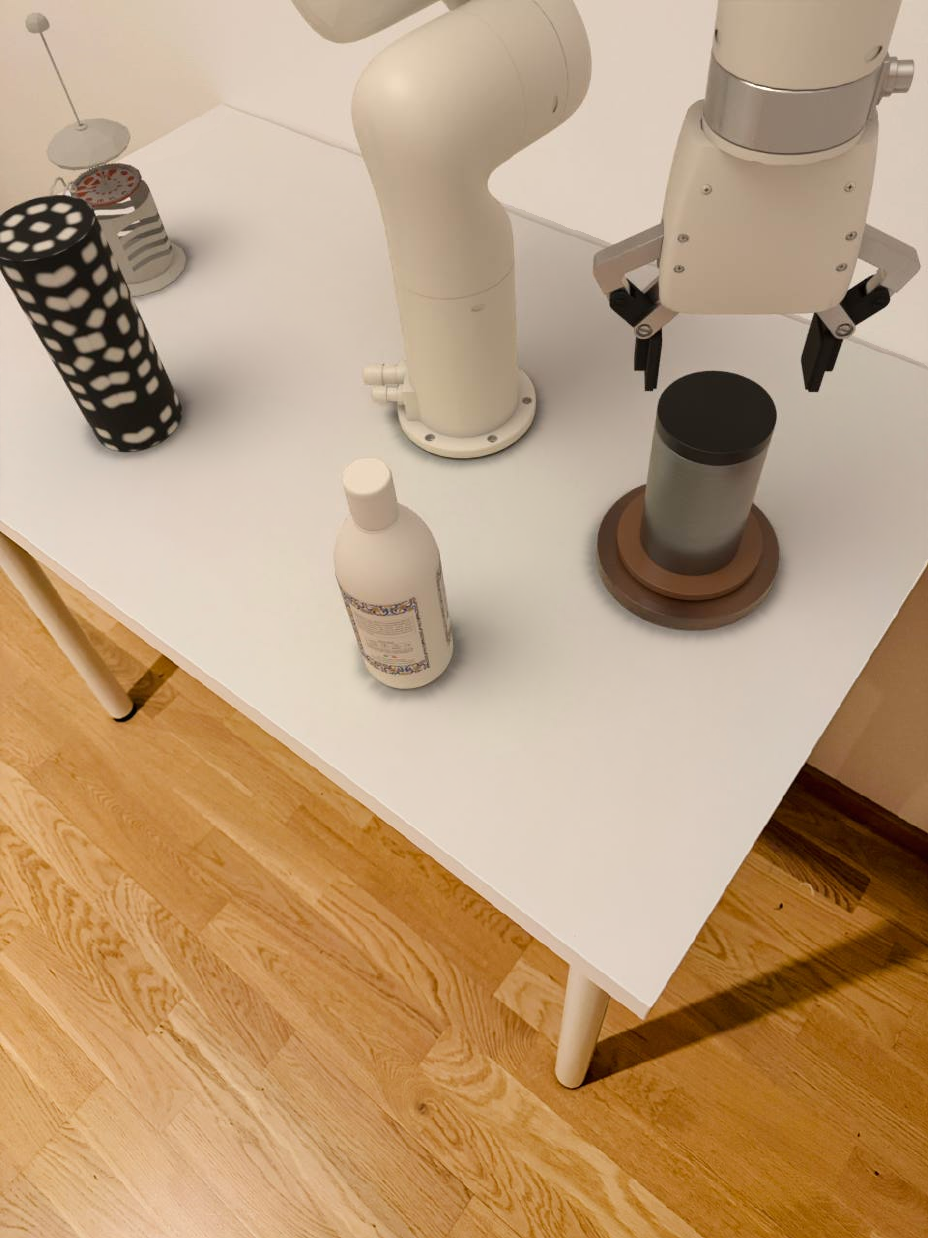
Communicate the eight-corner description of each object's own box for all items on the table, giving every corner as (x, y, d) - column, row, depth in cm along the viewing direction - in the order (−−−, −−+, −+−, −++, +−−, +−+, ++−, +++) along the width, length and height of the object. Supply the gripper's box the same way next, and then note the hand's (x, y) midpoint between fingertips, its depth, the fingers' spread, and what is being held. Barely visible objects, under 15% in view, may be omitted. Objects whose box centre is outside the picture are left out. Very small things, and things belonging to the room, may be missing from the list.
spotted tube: (199, 401, 86) (116, 206, 69) (148, 461, 82) (47, 270, 65) (129, 379, 88) (33, 186, 72) (76, 438, 84) (-39, 247, 68)
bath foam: (405, 598, 72) (364, 414, 55) (472, 644, 69) (450, 464, 52) (345, 658, 69) (282, 484, 52) (412, 708, 66) (368, 541, 50)
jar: (616, 597, 68) (631, 471, 56) (617, 479, 74) (630, 344, 63) (766, 603, 67) (813, 475, 55) (754, 482, 73) (794, 345, 62)
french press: (204, 254, 99) (113, -2, 78) (131, 317, 94) (12, 61, 73) (140, 230, 102) (36, -22, 81) (65, 289, 97) (-66, 37, 76)
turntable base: (594, 626, 69) (595, 615, 68) (597, 487, 77) (598, 475, 75) (783, 634, 67) (788, 623, 66) (768, 491, 75) (771, 479, 74)
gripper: (969, 44, 43) (865, 336, 57) (601, 58, 45) (589, 336, 59) (1005, 129, 39) (883, 421, 53) (599, 140, 41) (586, 418, 55)
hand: (728, 376), depth 56 cm, fingers open, 9 cm apart
